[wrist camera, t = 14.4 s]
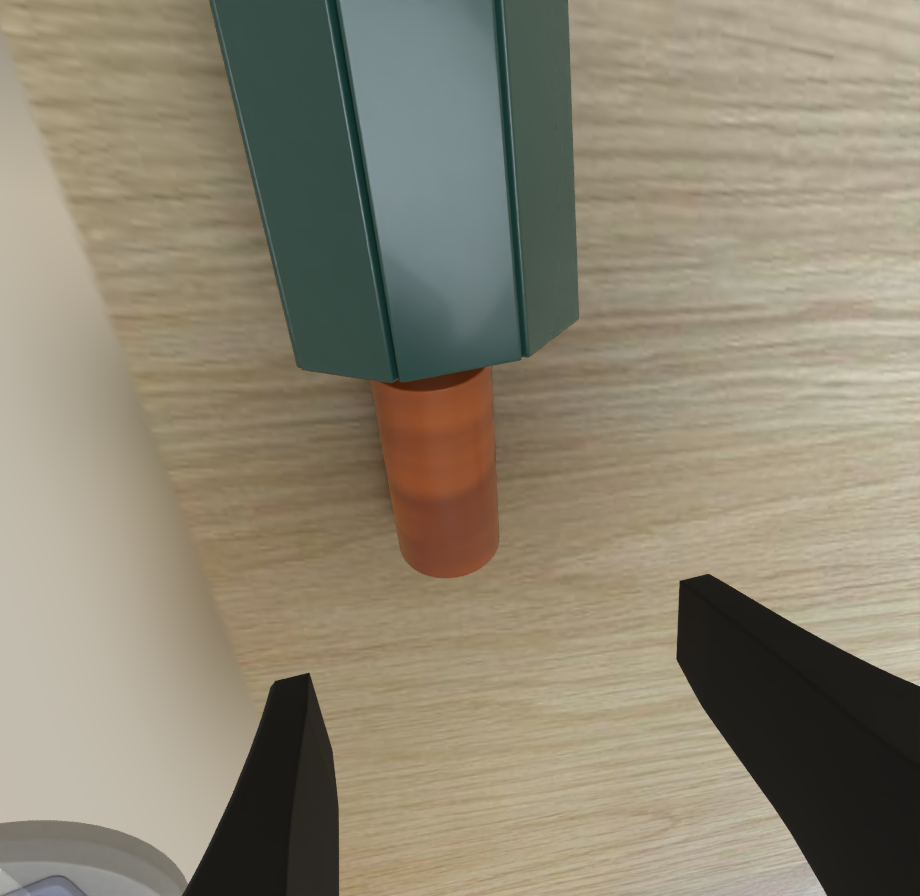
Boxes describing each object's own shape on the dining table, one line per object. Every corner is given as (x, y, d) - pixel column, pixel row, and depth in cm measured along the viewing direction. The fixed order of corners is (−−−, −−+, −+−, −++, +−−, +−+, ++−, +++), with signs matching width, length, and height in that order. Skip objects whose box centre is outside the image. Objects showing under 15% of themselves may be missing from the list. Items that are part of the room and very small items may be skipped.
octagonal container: (507, 265, 18) (615, 343, 12) (295, 300, 17) (298, 403, 11) (463, -267, 13) (606, -578, 7) (168, -251, 12) (55, -585, 6)
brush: (487, 490, 21) (522, 567, 18) (383, 514, 20) (404, 597, 18) (449, -182, 11) (510, -207, 9) (252, -168, 11) (258, -192, 8)
